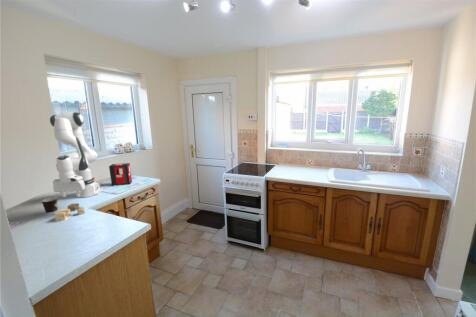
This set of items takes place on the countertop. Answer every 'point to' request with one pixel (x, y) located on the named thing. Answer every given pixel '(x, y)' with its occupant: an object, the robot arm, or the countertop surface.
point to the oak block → (62, 214)
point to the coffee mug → (50, 204)
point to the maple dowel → (80, 210)
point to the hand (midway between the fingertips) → (71, 196)
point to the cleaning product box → (120, 174)
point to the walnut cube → (73, 206)
